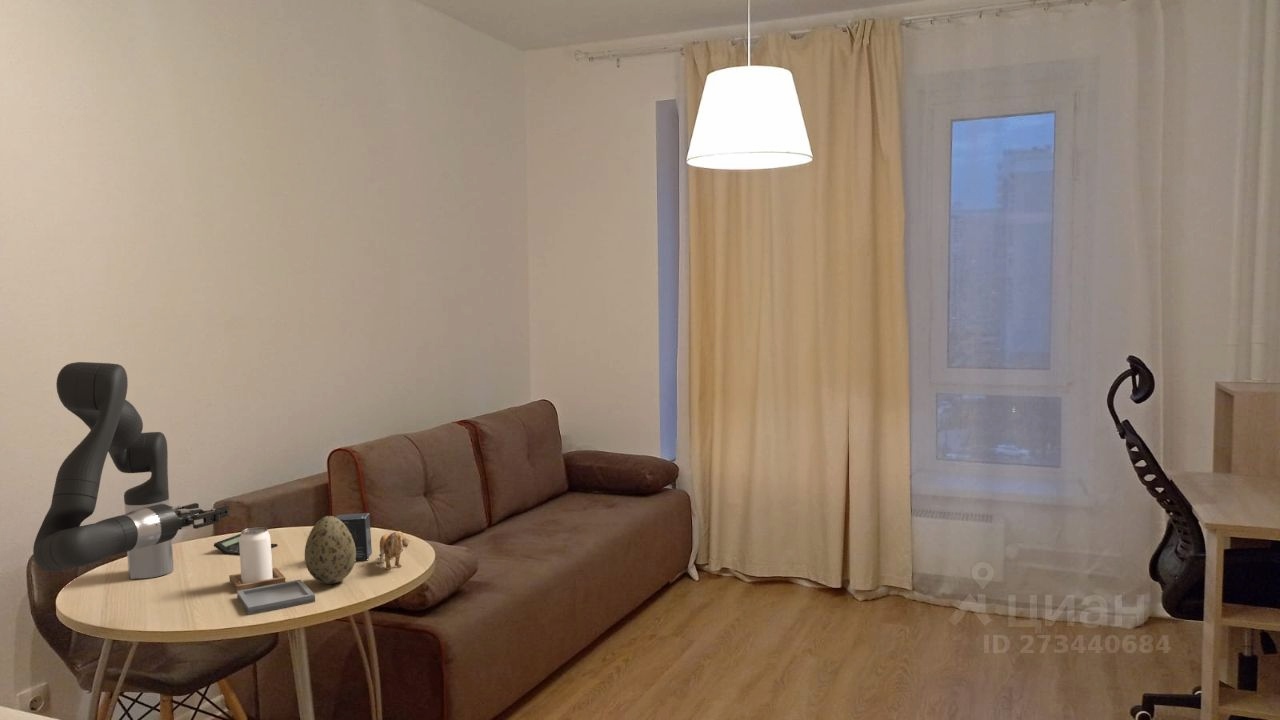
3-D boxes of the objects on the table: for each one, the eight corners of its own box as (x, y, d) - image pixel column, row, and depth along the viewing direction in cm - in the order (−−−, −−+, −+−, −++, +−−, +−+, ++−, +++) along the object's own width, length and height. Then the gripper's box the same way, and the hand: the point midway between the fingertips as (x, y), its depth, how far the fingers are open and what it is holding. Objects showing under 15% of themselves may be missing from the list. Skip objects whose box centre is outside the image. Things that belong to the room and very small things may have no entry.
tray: (248, 614, 185) (248, 607, 185) (237, 597, 196) (237, 591, 196) (315, 601, 192) (314, 594, 192) (300, 586, 203) (300, 579, 203)
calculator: (251, 557, 228) (251, 545, 228) (214, 554, 232) (213, 542, 231) (277, 547, 237) (276, 535, 237) (240, 544, 241) (240, 533, 240)
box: (372, 554, 226) (369, 512, 226) (367, 561, 221) (365, 517, 220) (339, 556, 226) (337, 514, 225) (334, 563, 220) (331, 519, 219)
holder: (237, 593, 199) (236, 586, 199) (229, 581, 207) (229, 575, 207) (285, 584, 204) (285, 577, 204) (276, 573, 213) (275, 567, 213)
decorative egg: (333, 573, 212) (329, 508, 211) (367, 578, 207) (364, 513, 206) (295, 586, 202) (291, 519, 201) (330, 593, 197) (327, 524, 196)
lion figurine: (413, 569, 213) (411, 531, 212) (391, 574, 210) (389, 535, 209) (389, 556, 225) (387, 519, 224) (368, 560, 222) (366, 523, 221)
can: (261, 588, 202) (258, 534, 201) (235, 587, 203) (232, 533, 202) (278, 579, 208) (275, 527, 207) (253, 578, 210) (250, 526, 209)
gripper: (171, 510, 176) (237, 493, 191) (118, 506, 182) (186, 489, 197) (173, 549, 177) (239, 528, 192) (120, 543, 182) (188, 524, 197)
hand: (212, 509), depth 194 cm, fingers open, 8 cm apart
